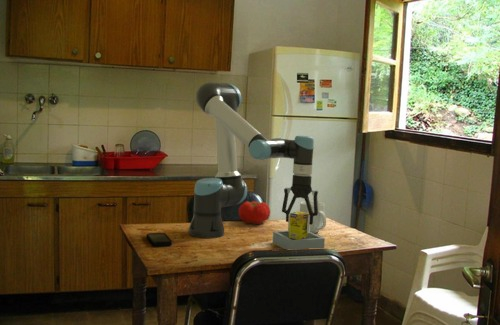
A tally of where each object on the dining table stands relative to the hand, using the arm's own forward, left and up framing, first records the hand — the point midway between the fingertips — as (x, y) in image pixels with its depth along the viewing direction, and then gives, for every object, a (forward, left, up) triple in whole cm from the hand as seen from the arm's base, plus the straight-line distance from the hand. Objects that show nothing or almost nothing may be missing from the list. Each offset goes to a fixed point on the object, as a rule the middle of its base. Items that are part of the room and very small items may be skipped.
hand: (298, 231), depth 222 cm
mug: (+2, +27, -6) cm, 28 cm away
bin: (0, 0, -6) cm, 6 cm away
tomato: (-27, +34, -6) cm, 44 cm away
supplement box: (0, 0, -4) cm, 4 cm away
